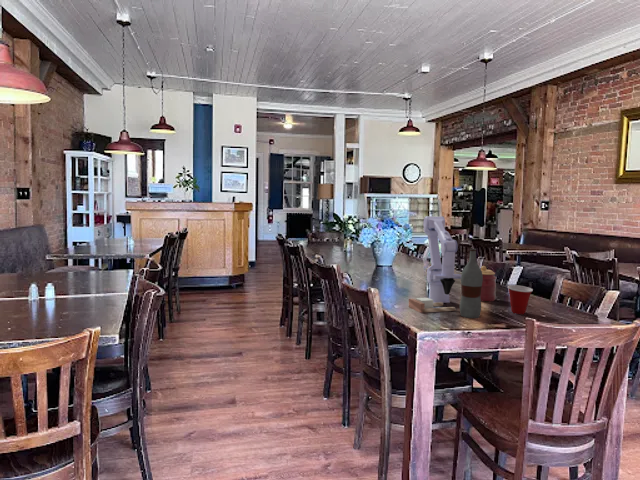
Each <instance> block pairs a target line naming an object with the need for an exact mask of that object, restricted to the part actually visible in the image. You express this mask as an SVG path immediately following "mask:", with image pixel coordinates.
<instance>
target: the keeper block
mask: <svg viewBox="0 0 640 480" xmlns="http://www.w3.org/2000/svg"><path fill="white" fill-rule="evenodd" d="M414 299H415V300H417V301H419V302H422V303H424V304H425V307H424V309H425V308H434V306H433V301H434V300H432V299H429V297H415V298H414Z"/></svg>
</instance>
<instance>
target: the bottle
mask: <svg viewBox="0 0 640 480" xmlns="http://www.w3.org/2000/svg"><path fill="white" fill-rule="evenodd" d="M460 274H461V279H460V286H461V287H460V288H461V289H460V290H461V296H460V297H461V298H460V301H459V313H460V314H459V315H460V316H461V317H463V318H466V319H467V318H468V319H479V318H480V316H481V313H482V301H481V298H480V296H481V288H482V281H483V276H482V271H481V268H480V266H479V264H478V262H477V249H476V248H469V261H468V262H467V263H466V265H465V266H464V267H463V268H462V271H461V273H460Z"/></svg>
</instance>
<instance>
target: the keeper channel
mask: <svg viewBox="0 0 640 480" xmlns="http://www.w3.org/2000/svg"><path fill="white" fill-rule="evenodd" d="M415 299H416V298H408V308H409V309H412V310H413V311H416V312H418V313H421V314H423V313H435V312H436V313H437V312H440V313H441V312H452V311H453V312H455V311H456V307H455V306H447V307H446V306H445V307H443V306H444V303H443V302H437V303H433V308H425V309H424V307H425V304H424V303H422V302H419V301H417V300H415Z"/></svg>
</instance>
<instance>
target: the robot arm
mask: <svg viewBox="0 0 640 480" xmlns="http://www.w3.org/2000/svg"><path fill="white" fill-rule="evenodd" d="M445 224H446V219H445V217H444V216H442V215H441V216H435V215H434V216H433V215H432V216H431V215H429V216H427V215H426V216H424V218H423V231H424V234H425V235H427V238H428V247H429V254H430V255H429V256H430V261H431V262H430V264H431V265H430V266H429V267H427V269H426V282H427V283H428V284H429V295H428V296H429V297H428V298H429V299H432V300H434V301H433V303H437V302H443V304H444V303H447V304H448V303H451V301H450V293H451V290H452V287H453V285H454V284H455V282H456V280H457V279H459V280H461V274H462V273H455V267H456V266H455V265H456V264H455V263H456V253H457V251H458V247H459V246H458V241H457V240H456V239H453V237H452V236H451V234H450V233H449V231H447V230H446V227H445ZM439 243H440V244H439ZM440 250H441V251H440ZM441 256H442V259H441ZM455 279H456V280H455Z"/></svg>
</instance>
